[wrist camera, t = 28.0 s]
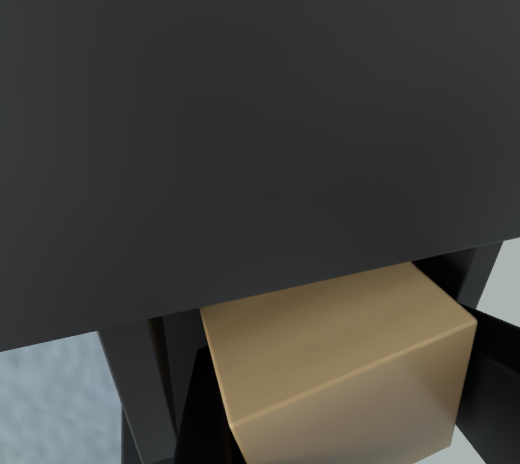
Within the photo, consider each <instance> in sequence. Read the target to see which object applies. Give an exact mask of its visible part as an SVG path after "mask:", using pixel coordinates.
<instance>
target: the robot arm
mask: <svg viewBox="0 0 520 464" xmlns="http://www.w3.org/2000/svg"><path fill="white" fill-rule="evenodd" d="M457 303H459V302H457ZM459 304H460V305H461V306H462V307H463V308H464V309H465V310H467V311H468V312H469V313H470V314H471V315H472V316H474V317H475V318H476V320H477V322H478V323H477V328H476V332H475V337H474V341H473V346H472V350H471V355H470V359H469V364H468V369H467V373H466V378H465V382H464V387H463V391H462V396H461V400H460V405H459V409H458V414H457V418H456V423H455V424H456V426H457V427H458V428H459V429H460V431H461V432H462V433H463V434H464V436H465V437H466V438H467V440H468V441H469V442H470V443H471V445H472V446H473V447H474V449H475V450H476V451H477V453H478V454H479V455H480V457H481V458H482V459H483V460H484V462H485V463H486V464H520V327H517V326H514V325H513V324H510V323H508V322H505V321H503V320H500V319H498V318H495V317H493V316H490V315H488V314H486V313H483V312H481V311H478V310H476V309H473V308H471V307H469V306H466V305H464V304H461V303H459ZM172 464H247V463H246V461H245V459H244V457H243V455H242V452H241V450H240V448H239V446H238V444H237V442H236V439H235V437H234V435H233V433H232V431H231V429H230V427H229V423H228V419H227V415H226V411H225V407H224V404H223V400H222V396H221V392H220V388H219V384H218V380H217V376H216V372H215V368H214V364H213V360H212V357H211V353H210V349H209V345H208V344H207V345H204V346H202V347H200V348H199V349H198V350H197V353H196V358H195V362H194V367H193V371H192V376H191V380H190V384H189V389H188V393H187V398H186V402H185V406H184V411H183V415H182V420H181V424H180V429H179V433H178V437H177V442H176V446H175V451H174V455H173V459H172Z"/></svg>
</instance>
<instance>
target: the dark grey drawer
mask: <svg viewBox="0 0 520 464" xmlns="http://www.w3.org/2000/svg"><path fill="white" fill-rule="evenodd" d="M502 243H503V241H501V242H496V243H492V244H487V245H483V246H478V247H474V248H469V249H465V250H460V251H456V252H451V253H447V254H442V255H437V256H433V257H428V258H424V259H419V260H415V261H411V262H412V263H413V264H414V265H415V266H416V267H417V268H419V269H420V270H421V271H422V272H423V273H424V274H425V275H427V276H428V277H429V278H430V279H431V280H432V281H433V282H435V283H436V284H437V285H438V286H439V287H440V288H441V289H443V290H444V291H445V292H446V293H447V294H448V295H449V296H451V297H452V298H453V299H454V300H455V301H456V302H459V303H461V304H464V305H466V306H469V307H471V308H473V309H476V307H477V305H478V302H479V300H480V297H481V295H482V293H483V290H484V288H485V285H486V283H487V280H488V278H489V275H490V273H491V270H492V268H493V266H494V263H495V261H496V258H497V256H498V253H499V251H500V248H501V246H502ZM97 333H98V336H99V339H100V342H101V345H102V348H103V351H104V354H105V357H106V360H107V363H108V366H109V369H110V371H111V374H112V377H113V380H114V383H115V386H116V389H117V392H118V395H119V398H120V401H121V404H122V422H121V464H172V459H173V455H174V451H175V446H176V442H177V437H178V433H179V429H180V424H181V420H182V415H183V411H184V406H185V402H186V398H187V393H188V389H189V384H190V380H191V376H192V371H193V367H194V362H195V358H196V353H197V350H198V349H199V348H200V347H202V346H204V345H207V344H208V341H207V337H206V333H205V329H204V325H203V321H202V317H201V314H200V310H199V308H197V309H193V310H188V311H184V312H179V313H175V314H170V315H166V316H161V317H156V318H152V319H147V320H143V321H138V322H134V323H129V324H125V325H120V326H116V327H111V328H107V329H102V330H98V331H97Z"/></svg>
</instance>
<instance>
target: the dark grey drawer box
mask: <svg viewBox="0 0 520 464" xmlns="http://www.w3.org/2000/svg"><path fill="white" fill-rule="evenodd" d="M518 237H520V0H0V352H2V351H7V350H11V349H16V348H21V347H25V346H30V345H34V344H39V343H43V342H48V341H52V340H57V339H61V338H66V337H70V336H75V335H79V334H84V333H88V332H93V331H98V330H102V329H107V328H111V327H116V326H120V325H125V324H129V323H134V322H138V321H143V320H147V319H152V318H156V317H161V316H166V315H170V314H175V313H179V312H184V311H188V310H193V309H197V308H202V307H206V306H211V305H215V304H220V303H224V302H229V301H234V300H238V299H243V298H247V297H252V296H256V295H261V294H265V293H270V292H274V291H279V290H283V289H288V288H292V287H297V286H302V285H306V284H311V283H315V282H320V281H324V280H329V279H333V278H338V277H342V276H347V275H351V274H356V273H360V272H365V271H370V270H374V269H379V268H383V267H388V266H392V265H397V264H401V263H406V262H410V261H415V260H419V259H424V258H428V257H433V256H437V255H442V254H447V253H451V252H456V251H460V250H465V249H469V248H474V247H478V246H483V245H487V244H492V243H496V242H501V241H505V240H510V239H514V238H518Z"/></svg>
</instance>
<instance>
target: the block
mask: <svg viewBox="0 0 520 464" xmlns="http://www.w3.org/2000/svg"><path fill="white" fill-rule="evenodd" d="M199 310H200V314H201V317H202V321H203V325H204V329H205V333H206V337H207V341H208V345H209V349H210V353H211V357H212V360H213V364H214V368H215V372H216V376H217V380H218V384H219V388H220V392H221V396H222V400H223V404H224V407H225V411H226V415H227V419H228V423H229V427H230V429H231V431H232V433H233V435H234V437H235V439H236V442H237V444H238V446H239V448H240V450H241V452H242V455H243V457H244V459H245V461H246V463H247V464H413V463H416V462H417V461H419V460H422V459H424V458H426V457H428V456H430V455H432V454H434V453H436V452H438V451H440V450H442V449H445V448H447V447H449V446H450V444H451V441H452V436H453V432H454V427H455V423H456V418H457V414H458V409H459V405H460V400H461V396H462V391H463V387H464V382H465V378H466V373H467V369H468V364H469V359H470V355H471V350H472V346H473V341H474V337H475V332H476V328H477V323H478V322H477V320H476V318H475V317H474V316H472V315H471V314H470V313H469V312H468V311H467V310H465V309H464V308H463V307H462V306H461V305H460V304H459V303H457V302H456V301H455V300H454V299H453V298H452V297H451V296H449V295H448V294H447V293H446V292H445V291H444V290H443V289H441V288H440V287H439V286H438V285H437V284H436V283H435V282H433V281H432V280H431V279H430V278H429V277H428V276H427V275H425V274H424V273H423V272H422V271H421V270H420V269H419V268H417V267H416V266H415V265H414V264H413V263H412V262H411V261H410V262H406V263H401V264H397V265H392V266H388V267H383V268H379V269H374V270H370V271H365V272H360V273H356V274H351V275H347V276H342V277H338V278H333V279H329V280H324V281H320V282H315V283H311V284H306V285H302V286H297V287H292V288H288V289H283V290H279V291H274V292H270V293H265V294H261V295H256V296H252V297H247V298H243V299H238V300H234V301H229V302H224V303H220V304H215V305H211V306H206V307H202V308H199Z"/></svg>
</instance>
